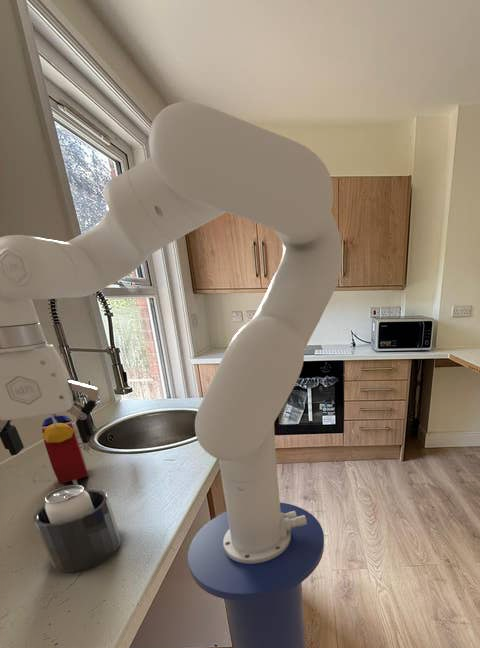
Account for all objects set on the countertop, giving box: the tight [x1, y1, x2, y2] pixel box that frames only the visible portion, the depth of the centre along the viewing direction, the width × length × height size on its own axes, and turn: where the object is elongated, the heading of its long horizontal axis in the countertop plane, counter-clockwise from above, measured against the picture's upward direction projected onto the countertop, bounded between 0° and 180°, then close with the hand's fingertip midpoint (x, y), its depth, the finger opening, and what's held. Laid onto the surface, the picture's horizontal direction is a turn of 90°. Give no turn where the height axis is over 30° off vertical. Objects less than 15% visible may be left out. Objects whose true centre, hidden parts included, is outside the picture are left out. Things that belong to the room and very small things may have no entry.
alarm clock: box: [41, 414, 92, 485], centre depth 87 cm, size 15×9×20 cm, turn 37°
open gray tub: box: [33, 489, 122, 574], centre depth 63 cm, size 11×11×10 cm
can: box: [44, 484, 94, 524], centre depth 62 cm, size 6×6×12 cm
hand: (53, 445), depth 57 cm, fingers open, 9 cm apart
